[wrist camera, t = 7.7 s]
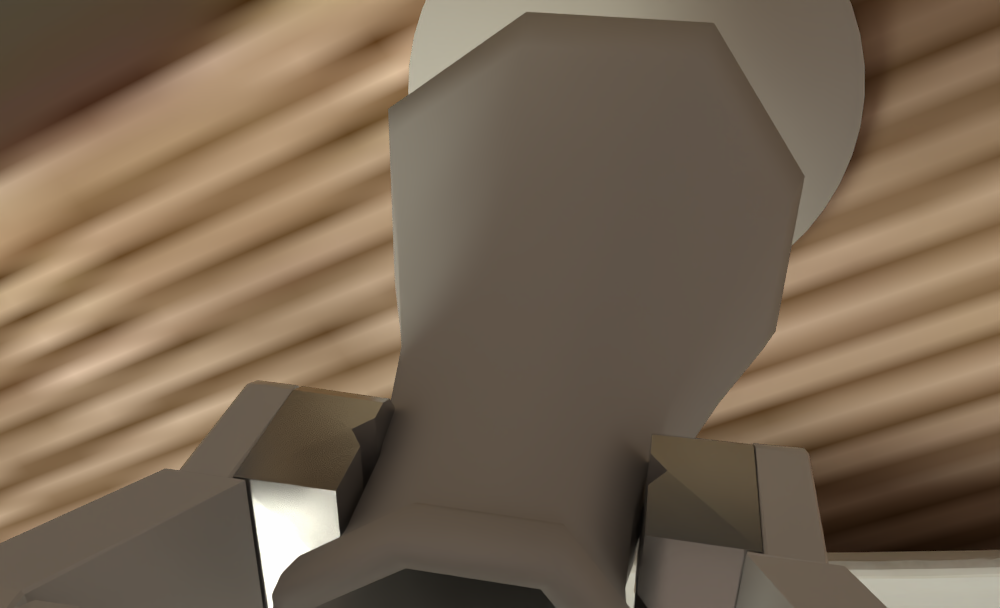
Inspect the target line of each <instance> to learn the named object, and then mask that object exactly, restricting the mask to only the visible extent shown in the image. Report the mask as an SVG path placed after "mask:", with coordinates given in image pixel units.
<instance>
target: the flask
mask: <svg viewBox="0 0 1000 608" xmlns="http://www.w3.org/2000/svg"><path fill="white" fill-rule="evenodd" d="M388 112H389V140H390V166H391V192H392V218H393V244H394V270H395V287H396V296H397V305H398V314H399V322H400V331H401V345H402V347H401V352H400V357H399V362H398V367H397V372H396V378H395V383H394V388H393V393H392V398H391V402H392V403H393V405H394V407H395V411H394V414H393V417H392V419H391V422H390V425H389V428H388V430H387V433H386V436H385V439H384V442H383V444H382V449H381V454H380V457H379V459H378V461H377V463H376V465H375V468H374V470H373V472H372V474H371V476H370V478H369V481H368V483H367V485H366V487H365V489H364V492H363V494H362V496H361V498H360V500H359V502H358V505H357V507H356V509H355V511H354V513H353V516H352V518H351V520H350V522H349V524H348V526H347V528H346V530H345V531H344V533H343V534H342V535H341V537H339V538H337V539H334V540H332V541H330V542H328V543H326V544H324V545H321V546H319V547H317V548H315V549H313V550H311V551H308V552H306V553H304V554H302V555H300V556H298V557H297V558H296V559H295V560H294V561H293V562H292V563H291V564H290V565H289V566H288V567H287V568H286V569H285V570H284V571H283V572H282V573H281V575H280V577H279V579H278V582H277V584H276V586H275V588H274V591H273V593H272V602H273V608H630V607H629V606H628V605H627V603H626V591H625V587H626V584H627V581H628V578H629V575H630V572H631V570H632V567H633V564H634V561H635V558H636V555H637V551H638V543H639V535H640V527H641V517H642V507H643V504H644V497H645V486H646V475H647V465H648V457H649V449H650V441H651V434H652V433H656V434H665V435H673V436H682V437H691V438H695V437H696V436H697V434H698V433H699V431H700V430H701V428H702V427H703V425H704V424H705V422H706V421H707V420H708V418H709V417H710V415H711V414H712V412H713V411H714V409H715V408H716V406H717V405H718V404H719V402H720V401H721V400H722V399H723V397H724V396H725V395H726V394H727V392H728V391H729V390H730V389H731V388H732V386H733V385H734V384H735V383H736V381H737V380H738V379H739V378H740V377H741V375H742V374H743V373H744V372H745V370H746V369H747V368H748V367H749V366H750V364H751V363H752V362H753V361H754V360H755V358H756V357H757V356H758V355H759V353H760V352H761V351H762V350H763V348H764V347H765V345H766V344H767V343H768V341H769V340H770V338H771V337H772V335H773V334H774V332H775V331H776V326H777V320H778V315H779V310H780V304H781V299H782V294H783V289H784V283H785V278H786V273H787V267H788V262H789V257H790V252H791V246H792V241H793V236H794V231H795V225H796V220H797V215H798V209H799V204H800V199H801V194H802V188H803V183H804V178H805V176H804V174H803V172H802V171H801V169H800V167H799V166H798V164H797V162H796V160H795V159H794V157H793V155H792V154H791V152H790V150H789V149H788V147H787V145H786V144H785V142H784V140H783V138H782V137H781V135H780V133H779V132H778V130H777V128H776V127H775V125H774V123H773V122H772V120H771V118H770V116H769V115H768V113H767V111H766V110H765V108H764V106H763V105H762V103H761V101H760V100H759V98H758V96H757V95H756V93H755V91H754V89H753V88H752V86H751V84H750V83H749V81H748V79H747V78H746V76H745V74H744V73H743V71H742V69H741V67H740V66H739V64H738V62H737V61H736V59H735V57H734V56H733V54H732V52H731V51H730V49H729V47H728V45H727V44H726V42H725V40H724V39H723V37H722V35H721V34H720V32H719V30H718V29H717V27H716V25H715V24H714V23H709V22H692V21H675V20H658V19H642V18H625V17H608V16H591V15H574V14H557V13H540V12H525V13H524V14H522V15H521V16H520V17H518V18H517V19H515V20H514V21H512V22H511V23H510V24H508V25H507V26H505V27H504V28H503V29H501V30H500V31H498V32H497V33H495V34H494V35H493V36H491V37H490V38H488V39H487V40H486V41H484V42H483V43H481V44H480V45H478V46H477V47H476V48H474V49H473V50H471V51H470V52H468V53H467V54H466V55H464V56H463V57H461V58H460V59H459V60H457V61H456V62H454V63H453V64H451V65H450V66H449V67H447V68H446V69H444V70H443V71H442V72H440V73H439V74H437V75H436V76H434V77H433V78H432V79H430V80H429V81H427V82H426V83H424V84H423V85H422V86H420V87H419V88H417V89H416V90H415V91H413V92H412V93H410V94H409V95H407V96H406V97H405V98H403V99H402V100H400V101H399V102H398V103H396V104H395V105H393V106H392V107H390V108H389V109H388Z"/></svg>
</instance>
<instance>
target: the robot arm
mask: <svg viewBox="0 0 1000 608" xmlns="http://www.w3.org/2000/svg"><path fill="white" fill-rule="evenodd" d="M394 411H395V407H394V405H393V403H392V402H391V400H390V399H387V398H380V397H373V396H367V395H360V394H353V393H346V392H340V391H333V390H326V389H319V388H313V387H306V386H301V387H299V386H297V385H291V384H283V383H275V382H267V381H260V380H257V381H254V382H251V383H248V384H247V385H246V386H245V387H244V389H243V390H242V391H241V392H240V394H239V395H238V396H237V397H236V399H235V400H234V401H233V403H232V404H231V405H230V406H229V408H228V409H227V410H226V411H225V413H224V414H223V415H222V417H221V418H220V419H219V420H218V422H217V423H216V424H215V425H214V427H213V428H212V429H211V430H210V432H209V433H208V434H207V436H206V437H205V438H204V439H203V441H202V442H201V443H200V444H199V446H198V447H197V448H196V450H195V451H194V452H193V453H192V455H191V456H190V457H189V458H188V460H187V461H186V462H185V464H184V465H183V466H182V467H181V469H180V470H173V469H163V470H161V471H159V472H157V473H155V474H152V475H150V476H148V477H146V478H143V479H141V480H139V481H137V482H135V483H132V484H130V485H128V486H126V487H124V488H121V489H119V490H117V491H115V492H113V493H110V494H108V495H106V496H104V497H102V498H99V499H97V500H95V501H93V502H90V503H88V504H86V505H84V506H82V507H79V508H77V509H75V510H73V511H71V512H68V513H66V514H64V515H62V516H60V517H57V518H55V519H53V520H51V521H49V522H46V523H44V524H42V525H40V526H38V527H35V528H33V529H31V530H29V531H26V532H24V533H22V534H20V535H18V536H15V537H13V538H11V539H9V540H7V541H4V542H2V543H0V608H273V602H272V593H273V591H274V588H275V586H276V584H277V582H278V579H279V577H280V575H281V573H282V572H283V571H284V570H285V569H286V568H287V567H288V566H289V565H290V564H291V563H292V562H293V561H294V560H295V559H296V558H297V557H298V556H300V555H302V554H304V553H306V552H308V551H311V550H313V549H315V548H317V547H319V546H321V545H324V544H326V543H328V542H330V541H332V540H334V539H337V538H339V537H341V535H342V534H343V533H344V531H345V530H346V528H347V526H348V524H349V522H350V520H351V518H352V516H353V513H354V511H355V509H356V507H357V505H358V502H359V500H360V498H361V496H362V494H363V492H364V489H365V487H366V485H367V483H368V481H369V478H370V476H371V474H372V472H373V470H374V468H375V465H376V463H377V461H378V459H379V457H380V454H381V449H382V444H383V442H384V439H385V436H386V433H387V430H388V428H389V425H390V422H391V419H392V417H393V414H394ZM634 593H635V595H634V604H633V608H887V607H886V606H885V605H884V604H883V603H882V602H881V601H880V600H879V599H878V598H877V597H876V596H875V595H874V594H873V593H872V592H871V591H870V590H869V589H868V588H867V587H866V586H865V585H864V584H863V583H862V582H861V581H860V580H859V579H858V578H857V577H855V576H854V575H853V574H852V573H851V572H850V571H849V570H848V569H847V568H846V567H845V566H841V565H834V564H829V563H828V557H827V551H826V546H825V540H824V534H823V529H822V523H821V517H820V512H819V506H818V500H817V495H816V489H815V483H814V478H813V472H812V466H811V461H810V455H809V453H808V452H807V451H806V450H805V449H804V448H797V447H786V446H776V445H765V444H755V443H753V444H752V445H751V444H743V443H734V442H725V441H717V440H708V439H699V438H691V437H682V436H673V435H665V434H656V433H652V434H651V441H650V449H649V457H648V465H647V475H646V486H645V497H644V504H643V507H642V517H641V527H640V535H639V543H638V551H637V562H636V574H635V585H634Z"/></svg>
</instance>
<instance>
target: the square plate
mask: <svg viewBox="0 0 1000 608" xmlns="http://www.w3.org/2000/svg"><path fill="white" fill-rule="evenodd" d="M827 557H828V563H829V564H834V565H841V566H845V567H846V568H847V569H848V570H849V571H850V572H851V573H852V574H853V575H854V576H855V577H857V578H858V579H859V580H860V581H861V582H862V583H863V584H864V585H865V586H866V587H867V588H868V589H869V590H870V591H871V592H872V593H873V594H874V595H875V596H876V597H877V598H878V599H879V600H880V601H881V602H882V603H883V604H884V605H885V606H886V607H887V608H1000V550H972V551H906V552H827ZM636 562H637V555H636V558H635V561H634V564H633V567H632V570H631V572H630V575H629V578H628V581H627V584H626V587H625V591H626V603H627V605H628V606H629V607H630V608H633V604H634V595H635V593H634V585H635V574H636Z"/></svg>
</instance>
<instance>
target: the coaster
mask: <svg viewBox="0 0 1000 608" xmlns="http://www.w3.org/2000/svg"><path fill="white" fill-rule="evenodd" d="M525 12H540V13H557V14H574V15H591V16H608V17H625V18H642V19H658V20H675V21H692V22H709V23H714V24H715V25H716V27H717V29H718V30H719V32H720V34H721V35H722V37H723V39H724V40H725V42H726V44H727V45H728V47H729V49H730V51H731V52H732V54H733V56H734V57H735V59H736V61H737V62H738V64H739V66H740V67H741V69H742V71H743V73H744V74H745V76H746V78H747V79H748V81H749V83H750V84H751V86H752V88H753V89H754V91H755V93H756V95H757V96H758V98H759V100H760V101H761V103H762V105H763V106H764V108H765V110H766V111H767V113H768V115H769V116H770V118H771V120H772V122H773V123H774V125H775V127H776V128H777V130H778V132H779V133H780V135H781V137H782V138H783V140H784V142H785V144H786V145H787V147H788V149H789V150H790V152H791V154H792V155H793V157H794V159H795V160H796V162H797V164H798V166H799V167H800V169H801V171H802V172H803V174H804V176H805V178H804V183H803V188H802V194H801V199H800V204H799V209H798V215H797V220H796V225H795V231H794V236H793V241H792V245H793V244H794V243H795V242H796V241H797V240H798V239H799V238H800V237H801V236H802V235H803V234H804V233H805V232H806V231H807V230H808V229H809V228H810V226H811V225H812V224H813V223H814V221H815V220H816V219H817V218H818V216H819V215H820V214H821V213H822V211H823V210H824V209H825V207H826V206H827V204H828V202H829V201H830V199H831V197H832V196H833V194H834V192H835V191H836V189H837V187H838V186H839V184H840V182H841V180H842V178H843V175H844V173H845V171H846V169H847V166H848V164H849V162H850V159H851V157H852V154H853V151H854V147H855V144H856V140H857V137H858V134H859V130H860V126H861V119H862V112H863V105H864V98H865V64H864V57H863V50H862V43H861V36H860V32H859V28H858V25H857V22H856V18H855V15H854V11H853V8H852V4H851V2H850V0H426V2H425V4H424V6H423V9H422V12H421V15H420V18H419V22H418V25H417V28H416V32H415V35H414V40H413V46H412V52H411V58H410V64H409V90H408V93H409V94H410V93H412V92H413V91H415V90H416V89H417V88H419V87H420V86H422V85H423V84H424V83H426V82H427V81H429V80H430V79H432V78H433V77H434V76H436V75H437V74H439V73H440V72H442V71H443V70H444V69H446V68H447V67H449V66H450V65H451V64H453V63H454V62H456V61H457V60H459V59H460V58H461V57H463V56H464V55H466V54H467V53H468V52H470V51H471V50H473V49H474V48H476V47H477V46H478V45H480V44H481V43H483V42H484V41H486V40H487V39H488V38H490V37H491V36H493V35H494V34H495V33H497V32H498V31H500V30H501V29H503V28H504V27H505V26H507V25H508V24H510V23H511V22H512V21H514V20H515V19H517V18H518V17H520V16H521V15H522V14H524V13H525Z"/></svg>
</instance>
